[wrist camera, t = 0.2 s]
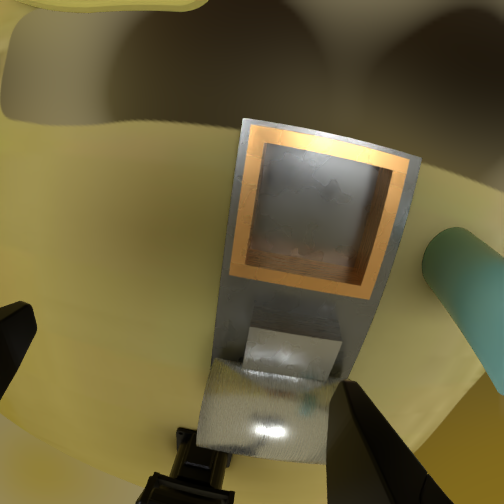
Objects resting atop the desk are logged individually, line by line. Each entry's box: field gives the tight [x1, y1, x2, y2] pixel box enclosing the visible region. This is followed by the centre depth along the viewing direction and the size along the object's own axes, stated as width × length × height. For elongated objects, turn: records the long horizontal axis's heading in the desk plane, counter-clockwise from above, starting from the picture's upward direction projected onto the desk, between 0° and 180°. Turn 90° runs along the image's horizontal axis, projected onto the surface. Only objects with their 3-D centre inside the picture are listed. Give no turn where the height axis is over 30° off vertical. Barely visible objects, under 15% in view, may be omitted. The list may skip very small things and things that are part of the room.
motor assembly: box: [196, 118, 422, 465], centre depth 19 cm, size 23×11×8 cm, turn 171°
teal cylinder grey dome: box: [422, 227, 504, 395], centre depth 15 cm, size 5×5×12 cm
